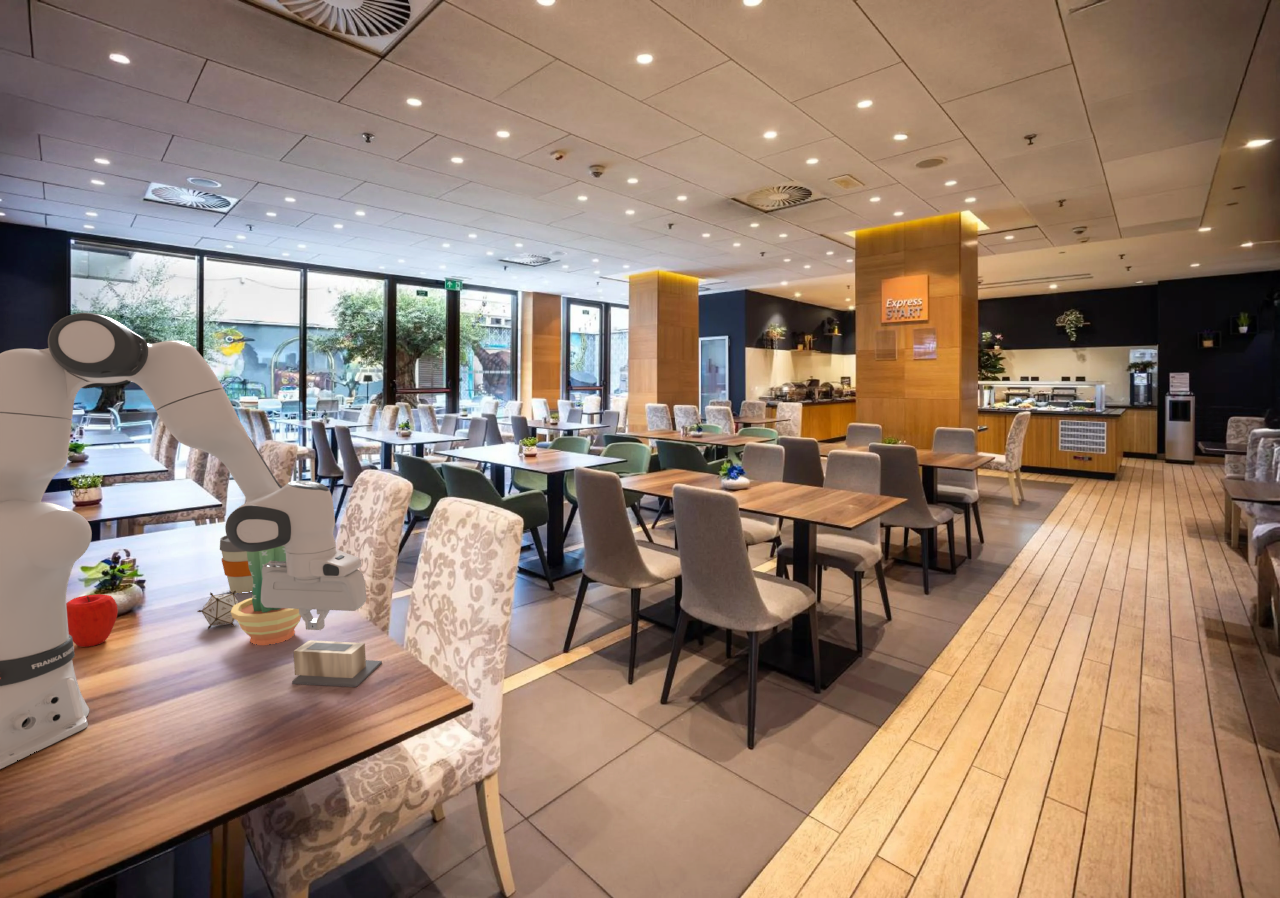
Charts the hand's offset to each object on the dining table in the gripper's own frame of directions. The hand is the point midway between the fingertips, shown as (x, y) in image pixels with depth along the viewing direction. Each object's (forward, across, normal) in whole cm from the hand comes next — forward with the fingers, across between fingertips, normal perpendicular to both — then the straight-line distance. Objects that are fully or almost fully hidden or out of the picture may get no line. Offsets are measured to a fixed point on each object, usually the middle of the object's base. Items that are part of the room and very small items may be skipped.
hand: (315, 628), depth 122 cm
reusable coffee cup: (+9, -48, +45) cm, 66 cm away
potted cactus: (+9, -20, +15) cm, 27 cm away
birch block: (+6, -3, 0) cm, 7 cm away
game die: (+9, -36, +20) cm, 42 cm away
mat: (+9, +4, 0) cm, 10 cm away
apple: (+9, -57, +8) cm, 58 cm away
